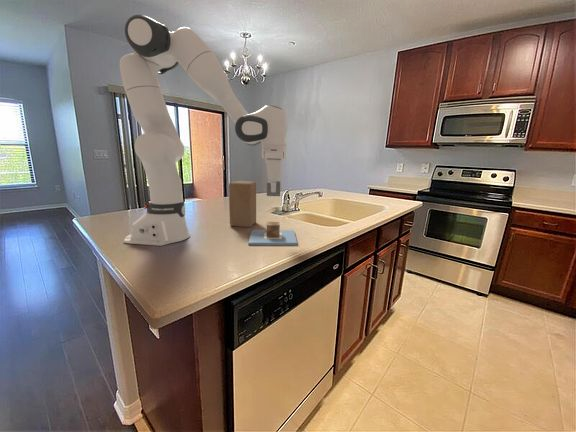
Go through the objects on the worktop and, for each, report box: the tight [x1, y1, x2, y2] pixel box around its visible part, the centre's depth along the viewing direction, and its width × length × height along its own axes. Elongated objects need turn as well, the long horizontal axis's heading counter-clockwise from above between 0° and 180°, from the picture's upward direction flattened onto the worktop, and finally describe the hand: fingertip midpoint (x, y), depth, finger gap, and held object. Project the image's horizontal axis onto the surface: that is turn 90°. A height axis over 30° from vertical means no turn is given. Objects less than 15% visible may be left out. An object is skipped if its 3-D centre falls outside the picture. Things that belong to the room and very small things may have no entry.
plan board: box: [247, 229, 298, 246], centre depth 101 cm, size 18×16×1 cm
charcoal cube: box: [266, 180, 281, 197], centre depth 96 cm, size 5×5×5 cm
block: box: [228, 180, 257, 228], centre depth 118 cm, size 10×10×20 cm
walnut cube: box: [266, 221, 281, 238], centre depth 100 cm, size 5×5×5 cm
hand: (273, 190), depth 97 cm, fingers closed on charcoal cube, 5 cm apart
